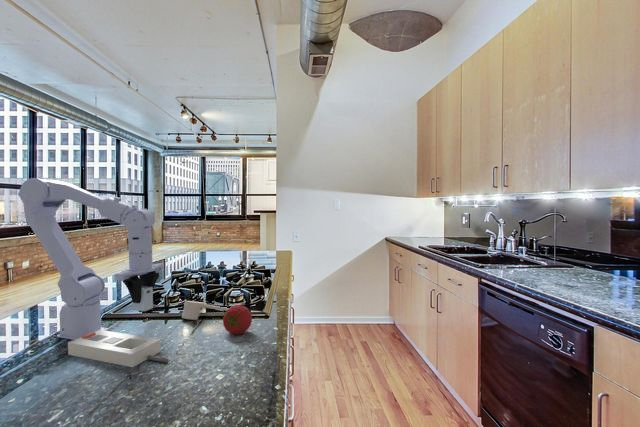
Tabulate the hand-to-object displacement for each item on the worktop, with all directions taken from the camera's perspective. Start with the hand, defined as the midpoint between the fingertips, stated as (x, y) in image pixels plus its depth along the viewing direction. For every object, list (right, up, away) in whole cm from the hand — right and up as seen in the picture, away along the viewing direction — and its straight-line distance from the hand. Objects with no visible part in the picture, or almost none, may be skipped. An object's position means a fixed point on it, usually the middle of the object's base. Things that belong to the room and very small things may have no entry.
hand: (142, 300), depth 91 cm
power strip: (+3, -9, -13) cm, 16 cm away
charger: (0, -2, 0) cm, 2 cm away
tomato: (+27, -9, -1) cm, 28 cm away
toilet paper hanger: (+12, -9, +15) cm, 22 cm away
